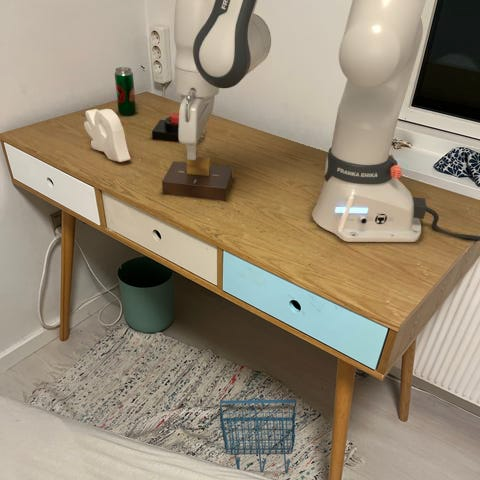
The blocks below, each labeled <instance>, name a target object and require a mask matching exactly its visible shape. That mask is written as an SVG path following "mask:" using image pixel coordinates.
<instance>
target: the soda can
mask: <svg viewBox="0 0 480 480" xmlns="http://www.w3.org/2000/svg"><path fill="white" fill-rule="evenodd" d="M114 80H115V92H116V93H115V94H116V101H117V111H118V112H117V113H119V114H120V115H122V116H124V117H129V116H133V115H135V114H136V112H137V107H136V97H135V96H136V95H135V93H136V92H135V82H134V81H135V80H134V73H133V71H132V69H131V68H130V67H128V66H127V67H126V66H120V67H116V68H115V71H114Z"/></svg>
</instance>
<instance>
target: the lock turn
mask: <svg viewBox="0 0 480 480" xmlns="http://www.w3.org/2000/svg"><path fill="white" fill-rule="evenodd" d="M186 162H187V174H193V175H203V176H209V175H210V165H211V158H210V157H209V158H207V157H200V156H199V157H198V156H197V157H196V159H195V160H189V159H188V158H187V157H186Z"/></svg>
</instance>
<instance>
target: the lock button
mask: <svg viewBox="0 0 480 480" xmlns="http://www.w3.org/2000/svg"><path fill="white" fill-rule="evenodd" d="M169 117H170V122H171V123H176V124H179V112H172V113H170V114H169Z"/></svg>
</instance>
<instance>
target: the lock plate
mask: <svg viewBox="0 0 480 480" xmlns="http://www.w3.org/2000/svg"><path fill="white" fill-rule="evenodd" d="M233 170H234V167H233V166H226V165H217V164H210V175H209V176H203V175H193V174H187V161H177V160H176V161H175V160H173V161H172V163H171V164H170V166H169V168H168V170H167V172H166V174H165V175H164V177H163V179H162V182H161V186H162V187H161V188H162V195H168V196H177V197H187V198H195V199H206V200H217V201H224V202H225V201H226V200H227V198H228V194H229V192H230V187H231V185H232V181H233ZM226 202H227V201H226Z"/></svg>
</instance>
